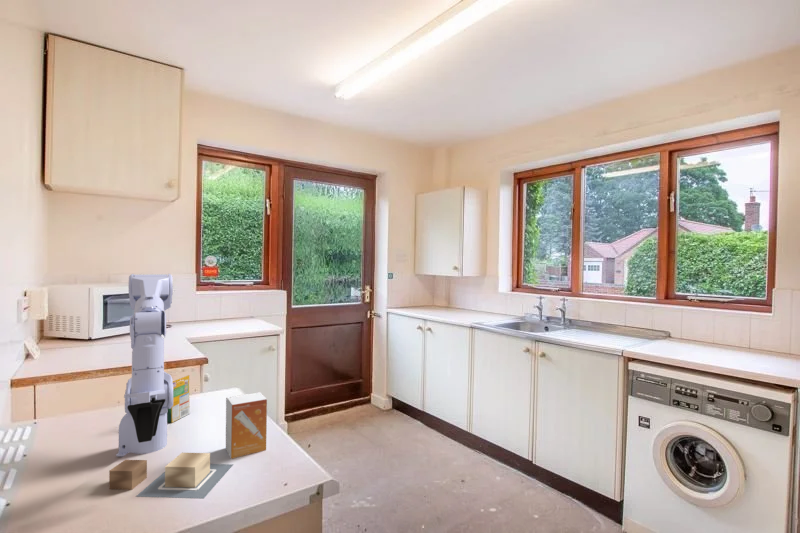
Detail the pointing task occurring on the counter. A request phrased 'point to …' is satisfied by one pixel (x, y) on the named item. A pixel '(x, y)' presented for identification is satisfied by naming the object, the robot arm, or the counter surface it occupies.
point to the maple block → (187, 470)
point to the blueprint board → (199, 491)
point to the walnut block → (128, 474)
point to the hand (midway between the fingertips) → (147, 439)
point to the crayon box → (179, 400)
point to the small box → (246, 424)
